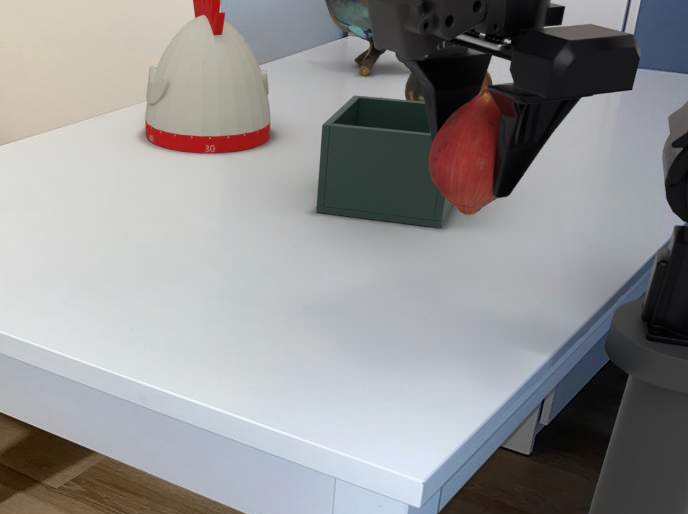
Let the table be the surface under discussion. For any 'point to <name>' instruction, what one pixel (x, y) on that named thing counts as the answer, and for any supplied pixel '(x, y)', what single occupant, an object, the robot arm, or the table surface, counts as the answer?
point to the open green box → (379, 163)
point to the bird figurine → (355, 28)
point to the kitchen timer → (207, 89)
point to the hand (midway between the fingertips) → (471, 183)
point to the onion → (467, 154)
